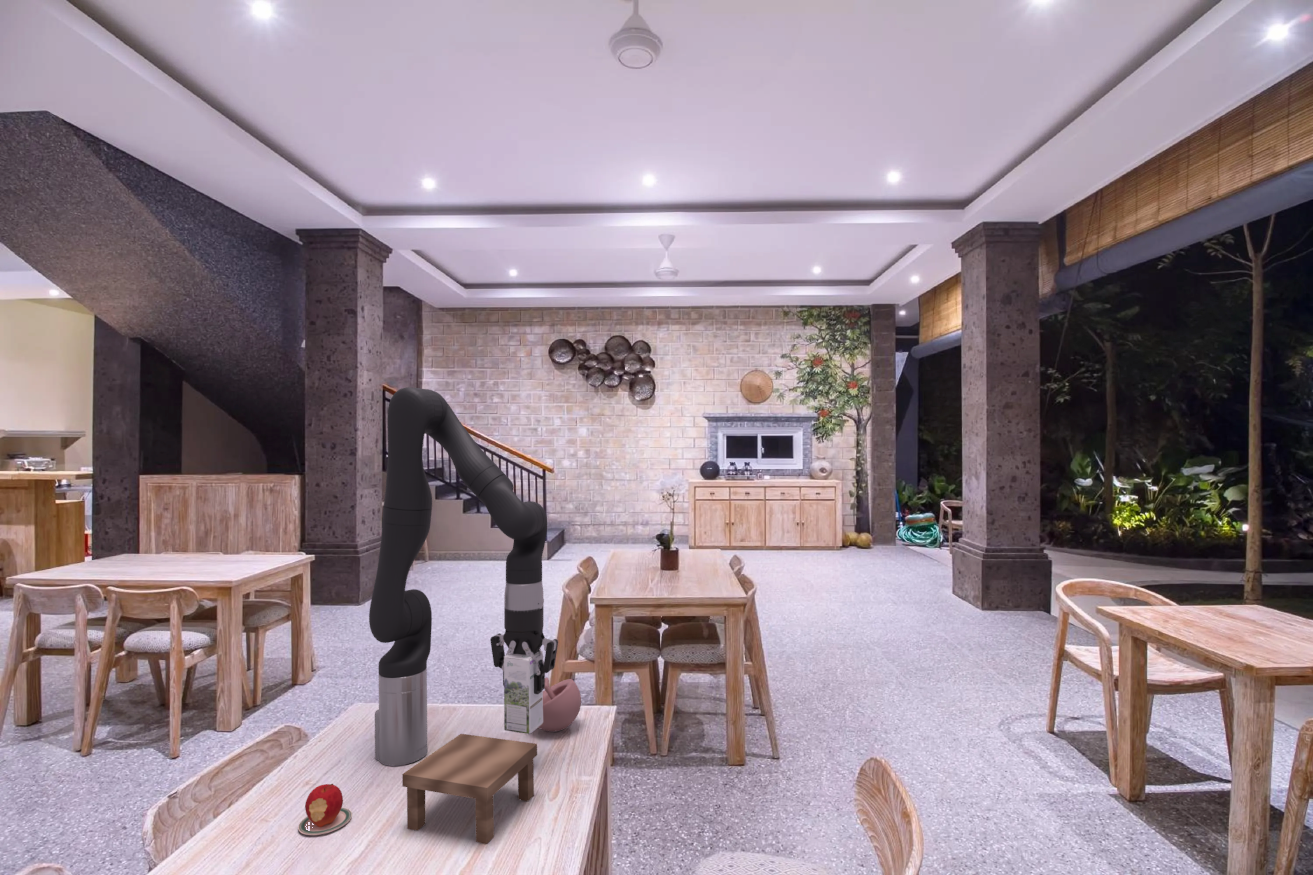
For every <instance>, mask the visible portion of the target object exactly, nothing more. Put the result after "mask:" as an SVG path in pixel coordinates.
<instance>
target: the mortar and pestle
mask: <svg viewBox="0 0 1313 875" xmlns="http://www.w3.org/2000/svg"><path fill="white" fill-rule="evenodd" d="M581 707H582V696H581V692H580V689H579V686H578V685H577V683H576V682H575V681H574V680H573V678H568V679H564V680H561V681H559V682H557V683H555V684H553V685H551V686H550V679H549V677H546V676H545V687H544V689H543V724H542V725H540V726H539V727H538V728H539V729H540V730H542V731H545V732H550V733H553V732H554V733H555V732H559V731H562V730H564V729H567V728H568V727H569V726H571V725H572V724H573V723H574V722H575V720H576V719H577V717H578V715H579V714H580V713H579V712H580V711H581ZM538 728H537V729H538Z"/></svg>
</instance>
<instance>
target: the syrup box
mask: <svg viewBox="0 0 1313 875" xmlns="http://www.w3.org/2000/svg"><path fill="white" fill-rule="evenodd" d="M543 651H544V650H541V652H542V654H543V655H544V653H543ZM534 656H535V658H537V657H538V656H539V652H537V653H536V654H534ZM538 663H539V661H538ZM534 675H535V672H534V664H533V663H532V657H527V655H521V654H513V655H506V654H505V656H504V686H503V708H504V709H503V710H504V711H503V712H504V713H503V715H504V718H503V719H504V720H503V721H504V723H503V724H504V726H503V727H504V731H507V732H514V733H519V734H525V735H527V734H528V735H530V734H532V733H533V732H534V731H536V730H537V729H538V727H539V726H540V725H542V724H543V691H544V689H543V690H542V692H541V693H539V694H534Z"/></svg>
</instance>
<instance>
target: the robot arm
mask: <svg viewBox="0 0 1313 875" xmlns="http://www.w3.org/2000/svg"><path fill="white" fill-rule="evenodd" d="M386 419H387V463H386V464H387V466H386V467H387V468H386V479H385V480H386V482H385V490H384V491H385V492H384V500H383V509H382V510H383V511H382V518H381V519H382V521H381V534H380V535H381V536H380V547H379V554H378V555H379V556H378V563H377V570H376V575H375V580H374V581H375V582H374V584H373V591H372V595H371V600H370V606H369V611H368V612H369V613H368V614H369V615H368V622H369V629H370V632H371V634H372V636H373V638H375V640H376V641H377V642H379V643H382V644H388V643H392V642H393V645H392V646H391V647H390V649H389V650H388V651H387V652H386V653H384V655H383V656H382V657H381V658H380V659H379V661H378V708H377V710H375V712H374V759H375V760H377V761H379V763H381V765H385V766H390V767H391V766H393V767H394V766H404V765H409V764H411V763H415V762H417V761H419V760H421V759H424V757H425V756H427V754H428V679H427V678H428V666H427V664H428V658H429V656H430V652H431V648H432V647H431V646H432V645H431V644H432V627H433V626H432V624H433V622H432V621H433V618H432V616H433V614H432V607H431V603H430V600H429V598H428V596H427V594H425V593H424V592H423V591H421V590H419V589H414V588H412V589H407V590H406V587H407V586H406V585H407V579H408V575H409V572H410V570H411V567H412V565H413V563H414V561H415V560H416V558H417V556H418V554H419V553H420V551H421V549H422V548H423V546H424V544H425V543H426V540H427V538H428V536H429V533H430V530H431V522H432V521H431V519H432V510H433V495H432V490H431V487H430V484H429V483H430V482H429V480H428V478H427V475H426V472H425V468H424V462H423V448H424V447H423V446H424V437H425V434H426V435H428V436H429V437H430V438H431V439H432V440H434V441H435V442H437V443H438V445H440V446H441V447H442V448H443V449H444V451H445V452H446V453H447V454H448V456H449V458H450V460H451V462H452V464H453V466H454V468H455V470H456V473H457V475H458V476H459V478H460V479H461V481H462V482H463V483H464V485H465V486H466V487H467V488H468V489H469V490H470V491H471V493H473V495H474V496H476V498H477V499H478V500H479V501H481V503H482V504H483V505H484V506H485V508H486V510H487V512H488V514H489V515H490V518H492V520H493V522H494V523H495V525H496V527H498V529H499V530H500V531H501V532H502V533H503V534H504V535H505V536H507V537H508V538H510V539H512V540H513V544H512V548H511V550H510V552H509V553H508V554H507V556H506V560H505V588H504V600H503V601H504V605H503V607H504V608H503V609H504V614H503V616H504V617H503V618H504V619H503V620H504V623H503V624H504V629H505V630H504V634H502V633H497V634H494V635H493V636H491V637H490V639H489V640H490V646H491V654H492V662H493V666H494V667H495V668H500V669H501V670H502V685H503V687H504V656H506V655H513V654H521V655H527V657H532V663H533V664H534V672H535V675H534V694H539V693H541V692H542V690H543V691H544V690H545V689H544V687H545V678H546V675H545V674H548V673H549V672H550V671H552V670H553V669H555V667H556V658H557V654H558V653H557V652H558V646H559V640H558V639H556V638H554V639H549V638H546V637H545V635H544V633H543V632H544V631H543V630H544V604H545V599H544V586H543V553H544V551H545V544H546V538H547V532H548V531H547V530H548V518H547V517H548V516H547V514H546V511H545V509H544V507H543V506H542V505H541V504H540V503H538V502H536V501H532V500H531V501H530V500H528V501H522V500H521V499H519V497H518V495H517V494H516V493H515V492H514V483H513V482H512V480H511V479H510V478H509V477H508V476H507V474H505V472H504V471H503V470H502V469H501V468H500V467H499V466H498V465H497V464H496V463H495V462H494V461H493V459H492V458H490V457H489V455H487V454H486V452H484V450H483V449H482V448H481V447H480V446H479V445H478V443H477V442H476V441H475V440H474V439H473V438H474V437H472V435H470V432H468V431H467V429H466V428H465V426H464V425H463V423H462V422H461V421H460V419H459V418H458V416H457V415H456V413H455V412H454V411H453V409H452V408H451V406H450V405H449V403H448V402H447V400H446V399H445V398H444V396H442V395H441V394H440V393H439V392H437V391H435V390H433V389H426V388H420V387H419V388H418V387H411V386H408V387H402V388H400V389H398V390H396V392H395V393H393V395H392V396H391V398H390V401H389V403H388V407H387V418H386ZM504 645H506V646H507V648H508V649H507V651H506V653H505V648H504ZM542 646H543V649H544V650H543V651H545V654H544V653H543V654H542V652H541V651H542V650H541V648H542ZM537 652H539V656H538V657H537V658H535V656H534V654H536V653H537ZM538 661H539V663H538Z"/></svg>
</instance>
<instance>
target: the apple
mask: <svg viewBox="0 0 1313 875" xmlns="http://www.w3.org/2000/svg"><path fill="white" fill-rule="evenodd" d="M343 803H344V797H343V794H342V791H341V789H340V788H339V786H337V785H335V784H334V783H331V784H330V783H327V784H326V783H325V784H321V785H318V786H317V787H314V788H313V789H312V790H311V792H310V793H308V796H307V798H306V800H305V803H304V804H305V806H304V810H305V814H306V817H304V818H303V819H302V820H301V821H300V822H299V823H298V826H297V828H298V829H297V830H298V832H299V833H301V834H303V835H306V836H319V835H325V834H328V833H331V832H334V831H337V830H339V829H341V828H342V827H344V826H346V825H347V824H348V823H349V822H350V820H351V819H352V817H353V813H352V811H351V809H349V808H346V807H343V805H344V804H343ZM308 822H310V825H308ZM312 823H313V824H314V825H312ZM306 824H307V826H306ZM305 826H306V827H307V829H308V826H310V831H308V830H306V827H305ZM312 827H313V828H312Z"/></svg>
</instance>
